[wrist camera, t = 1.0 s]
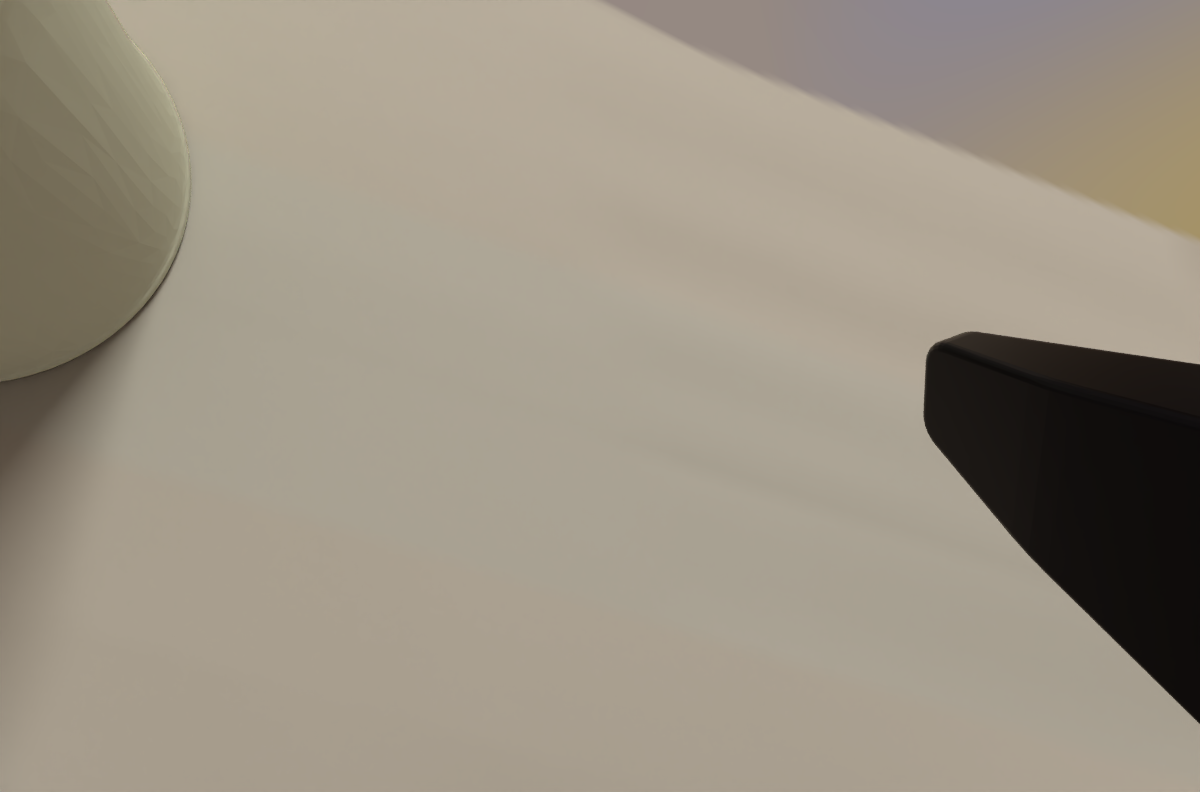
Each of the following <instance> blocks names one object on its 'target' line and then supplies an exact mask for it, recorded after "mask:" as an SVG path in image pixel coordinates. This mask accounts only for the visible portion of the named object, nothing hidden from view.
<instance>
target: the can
mask: <svg viewBox="0 0 1200 792" xmlns="http://www.w3.org/2000/svg"><path fill="white" fill-rule="evenodd" d="M190 197H191V165H190V157H189V149H188V145H187V140H186V135H185V132H184V128H183V125H182V122H181V119H180V116H179V114H178V111H177V109H176V106H175V104H174V102H173V100H172V98H171V96H170V94H169V92H168V90H167V88H166V86H165V84H164V82H163V80H162V79H161V77H160V76H159V74H158V73H157V71H156V70H155V68H154V67H153V65H152V64H151V62H150V61H149V60H148V59H147V57H146V56H145V55H144V54H143V53H142V51H141V50H140V49H139V48H138V47H137V46H136V44H135V43H134V42H133V41H132V40H131V39H130V38H129V37H128V35H127V34H126V32H125V30H124V28H123V27H122V25H121V23H120V22H119V20H118V18H117V16H116V15H115V13H114V11H113V10H112V8H111V6H110V5H109V3H108V1H107V0H0V382H1V381H8V380H13V379H18V378H22V377H26V376H30V375H33V374H36V373H39V372H42V371H45V370H48V369H51V368H54V367H56V366H58V365H61V364H63V363H66V362H68V361H70V360H72V359H74V358H76V357H78V356H80V355H82V354H84V353H85V352H87V351H89V350H91V349H92V348H94V347H96V346H97V345H99V344H100V343H102V342H103V341H105V340H106V339H108V338H109V337H110V336H112V335H113V334H114V333H115V332H117V331H118V330H119V329H120V328H121V327H123V326H124V325H125V324H126V323H127V322H128V321H129V320H130V319H131V318H132V317H133V316H134V315H135V314H136V313H137V312H138V311H139V310H140V309H141V308H142V307H143V306H144V305H145V303H146V302H147V301H148V300H149V299H150V297H151V296H152V295H153V293H154V292H155V291H156V289H157V288H158V287H159V285H160V284H161V282H162V281H163V279H164V277H165V275H166V274H167V272H168V270H169V268H170V266H171V264H172V262H173V260H174V258H175V256H176V254H177V251H178V249H179V246H180V243H181V241H182V237H183V234H184V231H185V227H186V223H187V219H188V213H189V207H190Z"/></svg>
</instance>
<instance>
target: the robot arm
mask: <svg viewBox="0 0 1200 792" xmlns="http://www.w3.org/2000/svg"><path fill="white" fill-rule="evenodd" d="M924 422H925V426H926V429H927V432H928V434H929V436H930V437H931V439H932V441H933V442H934V443H935V445H936V446H937V447H938V448H939V449H940V451H941V452H942V453H943V454H944V455H945V457H946V458H947V459H948V460H949V461H950V463H951V464H952V465H953V466H954V467H955V469H956V470H957V471H958V472H959V473H960V475H961V476H962V477H963V478H964V479H965V481H966V482H967V483H968V484H969V485H970V487H971V488H972V489H973V490H974V491H975V493H976V494H977V495H978V496H979V497H980V499H981V500H982V501H983V502H984V503H985V505H986V506H987V507H988V508H989V509H990V511H991V512H992V513H993V514H994V516H995V517H996V518H997V519H998V520H999V522H1000V523H1001V524H1002V525H1003V526H1004V528H1005V529H1006V530H1007V531H1008V532H1009V534H1010V535H1011V536H1012V537H1013V538H1014V539H1015V540H1016V542H1017V543H1018V544H1019V545H1020V546H1021V547H1022V548H1023V549H1024V551H1025V552H1026V553H1027V554H1028V555H1029V556H1030V557H1031V558H1032V559H1033V560H1034V561H1035V562H1036V563H1037V564H1038V565H1039V566H1040V567H1041V568H1042V570H1043V571H1044V572H1045V573H1046V574H1047V575H1048V576H1049V577H1050V578H1051V579H1052V580H1053V581H1055V582H1056V583H1057V584H1058V585H1059V586H1060V587H1061V588H1062V589H1063V590H1064V591H1065V592H1066V593H1067V594H1068V595H1069V596H1070V597H1071V598H1072V599H1073V600H1074V601H1075V602H1076V603H1077V604H1078V605H1079V606H1080V607H1081V608H1082V609H1083V610H1084V611H1085V612H1086V613H1087V614H1088V615H1089V616H1090V617H1091V618H1092V619H1093V620H1094V621H1095V622H1096V623H1097V624H1098V625H1099V626H1100V627H1101V628H1102V629H1103V630H1104V631H1105V632H1107V633H1108V634H1109V635H1110V636H1111V637H1112V638H1113V639H1114V640H1115V641H1116V642H1117V643H1118V644H1119V645H1120V646H1121V647H1122V648H1123V649H1124V650H1125V651H1126V652H1127V653H1128V654H1129V655H1130V656H1131V657H1132V658H1133V659H1134V660H1135V661H1136V662H1137V663H1138V664H1139V665H1140V666H1141V667H1142V668H1143V669H1144V670H1145V671H1146V672H1147V673H1148V674H1149V675H1150V676H1151V677H1152V678H1153V679H1154V680H1155V681H1156V682H1157V683H1158V684H1160V685H1161V686H1162V687H1163V688H1164V689H1165V690H1166V691H1167V692H1168V693H1169V694H1170V695H1171V696H1172V697H1173V698H1174V699H1175V700H1176V701H1177V702H1178V703H1179V704H1180V705H1181V706H1182V707H1183V708H1184V709H1185V710H1186V711H1187V712H1188V713H1189V714H1190V715H1191V716H1192V717H1193V718H1194V719H1195V720H1196V721H1197V722H1198V723H1199V724H1200V364H1193V363H1186V362H1180V361H1173V360H1166V359H1159V358H1152V357H1145V356H1139V355H1132V354H1125V353H1118V352H1111V351H1104V350H1098V349H1091V348H1084V347H1077V346H1070V345H1063V344H1057V343H1050V342H1043V341H1036V340H1029V339H1022V338H1016V337H1009V336H1002V335H995V334H988V333H981V332H972V331H971V332H965V333H962V334H959V335H956V336H953V337H951V338H948V339H945V340H942V341H940V342H937V343H935V344H934V345H933V346H932V347H931V348H930V350H929V352H928V354H927V357H926V371H925V392H924Z"/></svg>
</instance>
